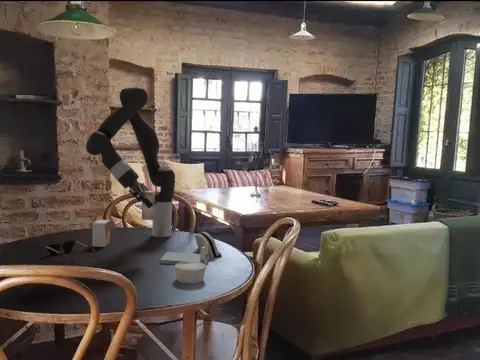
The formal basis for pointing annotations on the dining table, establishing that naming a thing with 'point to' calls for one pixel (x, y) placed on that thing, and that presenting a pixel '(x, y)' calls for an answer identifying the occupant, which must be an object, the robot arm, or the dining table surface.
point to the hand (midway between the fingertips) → (152, 205)
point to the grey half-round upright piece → (206, 237)
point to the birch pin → (147, 212)
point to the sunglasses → (66, 247)
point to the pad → (187, 256)
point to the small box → (101, 233)
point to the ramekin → (190, 272)
